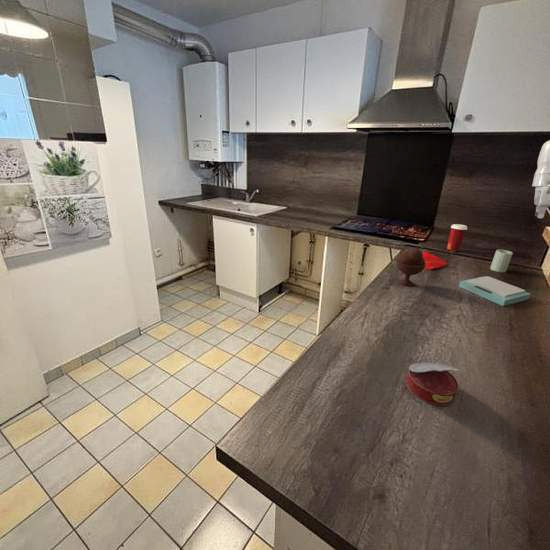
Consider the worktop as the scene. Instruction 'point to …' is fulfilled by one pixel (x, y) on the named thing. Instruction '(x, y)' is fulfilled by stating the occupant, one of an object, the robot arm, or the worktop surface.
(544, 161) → the robot arm
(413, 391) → the canned food
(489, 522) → the worktop surface
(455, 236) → the paper cup
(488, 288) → the scale
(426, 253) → the cloth
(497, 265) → the cup
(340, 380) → the worktop surface
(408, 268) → the ice cream bowl
